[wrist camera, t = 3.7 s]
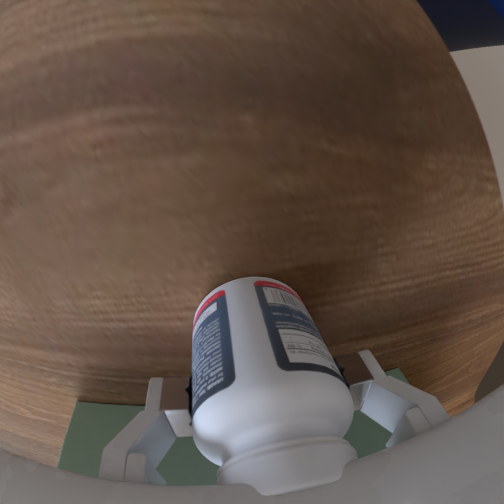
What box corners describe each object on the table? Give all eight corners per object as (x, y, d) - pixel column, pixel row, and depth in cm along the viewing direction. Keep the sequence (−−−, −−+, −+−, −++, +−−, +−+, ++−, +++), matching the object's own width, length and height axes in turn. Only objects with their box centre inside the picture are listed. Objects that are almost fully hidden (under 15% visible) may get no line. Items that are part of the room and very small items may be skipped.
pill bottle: (212, 370, 14) (225, 531, 6) (177, 290, 12) (154, 496, 4) (309, 346, 14) (374, 495, 6) (297, 259, 12) (406, 439, 4)
